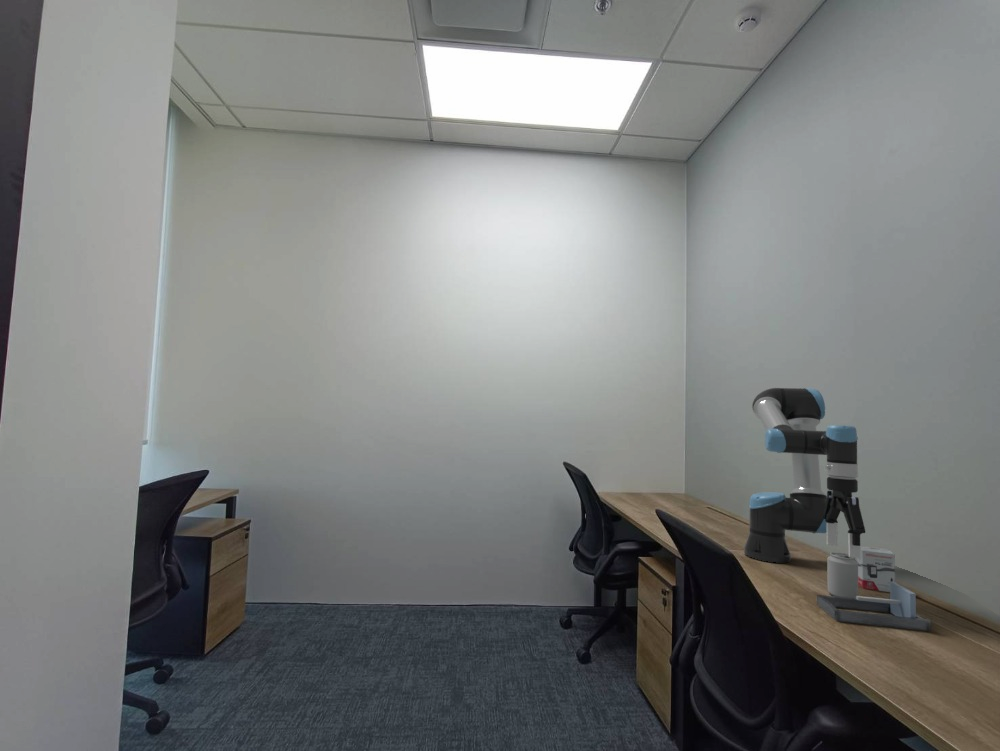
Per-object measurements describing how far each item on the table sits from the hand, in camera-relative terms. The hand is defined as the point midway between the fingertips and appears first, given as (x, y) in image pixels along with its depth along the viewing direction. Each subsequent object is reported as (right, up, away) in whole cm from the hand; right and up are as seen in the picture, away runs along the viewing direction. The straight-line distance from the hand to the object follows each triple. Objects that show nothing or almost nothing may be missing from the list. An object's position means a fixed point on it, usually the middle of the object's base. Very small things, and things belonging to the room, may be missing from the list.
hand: (842, 550), depth 146 cm
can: (0, -13, -1) cm, 13 cm away
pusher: (-1, -12, -16) cm, 20 cm away
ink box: (+15, -15, +8) cm, 23 cm away
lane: (-3, -12, -15) cm, 20 cm away
